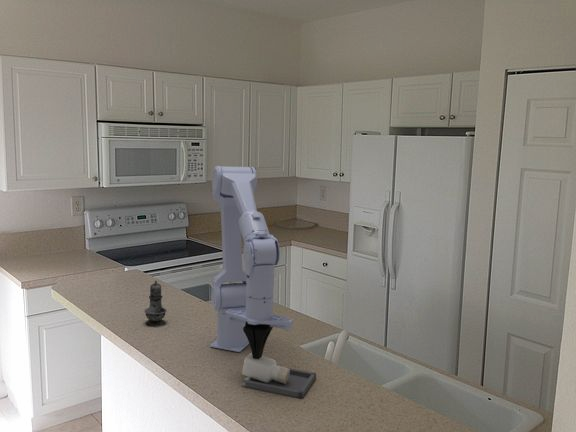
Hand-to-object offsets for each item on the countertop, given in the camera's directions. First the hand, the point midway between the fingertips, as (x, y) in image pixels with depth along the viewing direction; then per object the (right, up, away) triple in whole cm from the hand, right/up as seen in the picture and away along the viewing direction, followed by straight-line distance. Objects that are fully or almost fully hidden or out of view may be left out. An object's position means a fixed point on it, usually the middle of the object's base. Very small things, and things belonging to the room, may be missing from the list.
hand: (257, 357), depth 113 cm
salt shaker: (-30, +1, +31) cm, 43 cm away
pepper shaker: (-3, -2, +1) cm, 3 cm away
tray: (+5, -5, 0) cm, 7 cm away
